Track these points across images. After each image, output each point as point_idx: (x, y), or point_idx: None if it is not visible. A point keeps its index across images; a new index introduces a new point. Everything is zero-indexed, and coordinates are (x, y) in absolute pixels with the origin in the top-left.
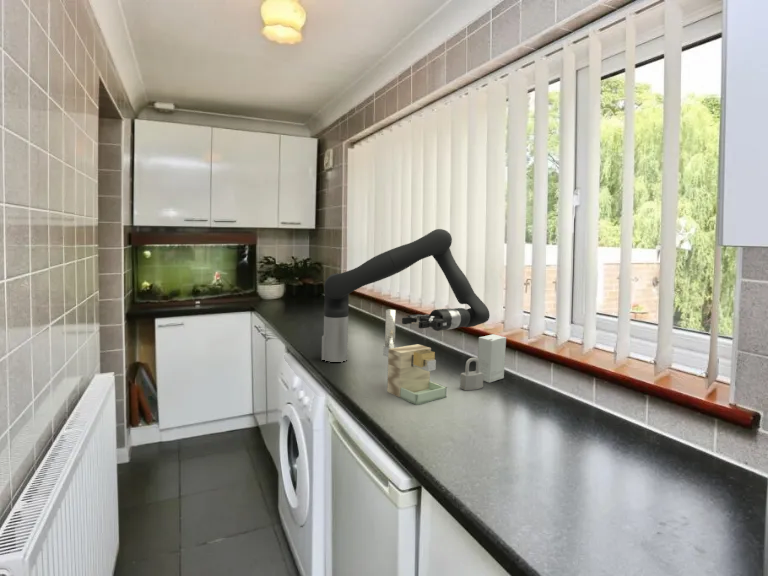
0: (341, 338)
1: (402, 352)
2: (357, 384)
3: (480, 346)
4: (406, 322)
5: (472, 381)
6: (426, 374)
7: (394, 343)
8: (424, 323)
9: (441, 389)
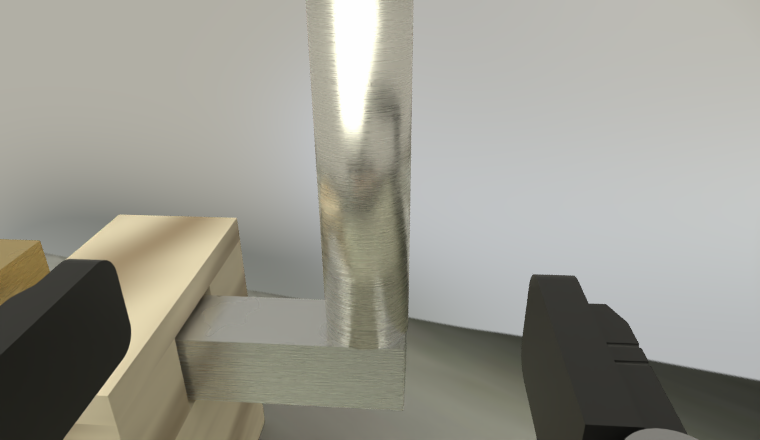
0: None
1: (116, 221)
2: (444, 386)
3: None
4: (534, 391)
5: None
6: None
7: (327, 308)
8: (2, 310)
9: None
